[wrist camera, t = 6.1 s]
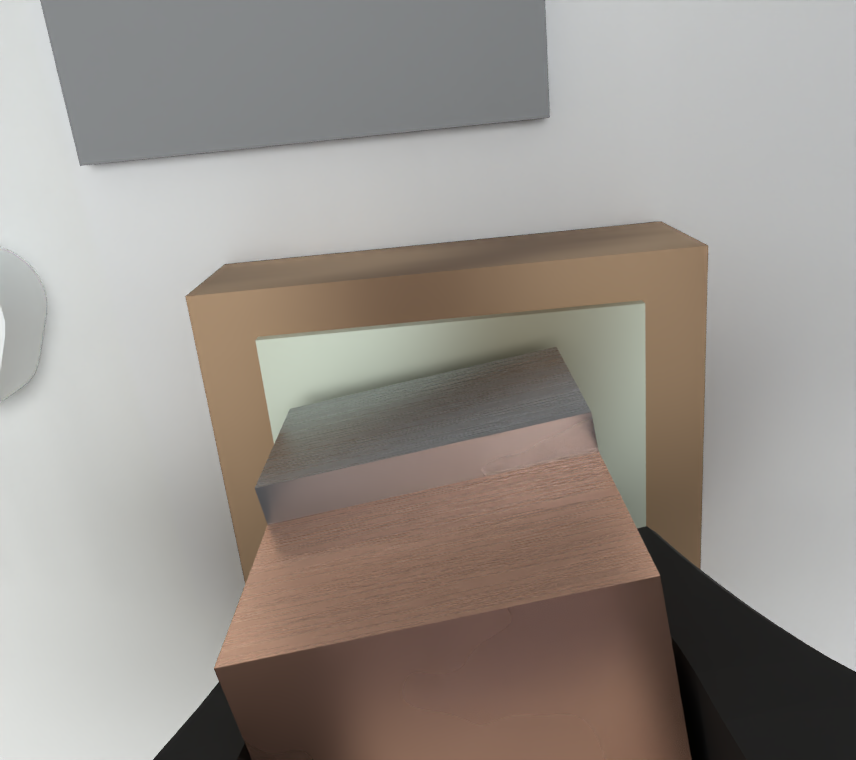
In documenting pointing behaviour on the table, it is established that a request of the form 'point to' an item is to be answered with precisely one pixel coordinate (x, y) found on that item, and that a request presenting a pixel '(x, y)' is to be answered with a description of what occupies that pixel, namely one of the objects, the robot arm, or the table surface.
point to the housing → (451, 583)
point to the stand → (471, 348)
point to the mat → (289, 70)
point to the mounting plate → (19, 322)
